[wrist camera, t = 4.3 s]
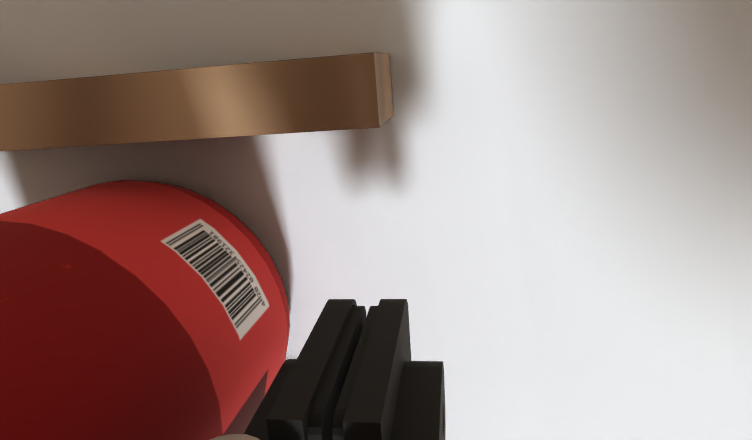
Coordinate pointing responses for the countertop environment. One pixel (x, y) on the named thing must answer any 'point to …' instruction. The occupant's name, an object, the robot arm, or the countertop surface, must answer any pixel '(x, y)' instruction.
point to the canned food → (135, 317)
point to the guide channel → (199, 103)
